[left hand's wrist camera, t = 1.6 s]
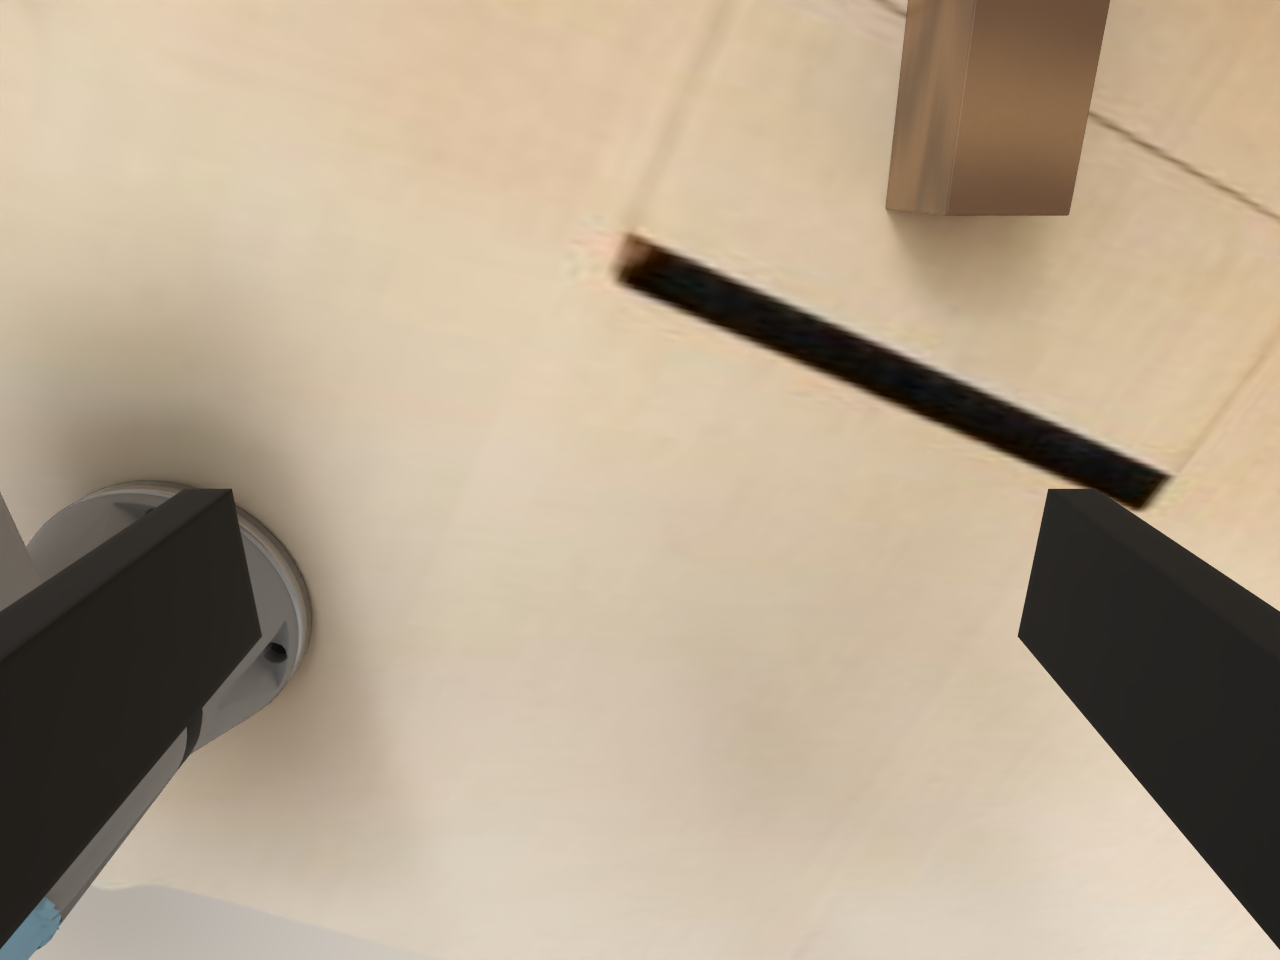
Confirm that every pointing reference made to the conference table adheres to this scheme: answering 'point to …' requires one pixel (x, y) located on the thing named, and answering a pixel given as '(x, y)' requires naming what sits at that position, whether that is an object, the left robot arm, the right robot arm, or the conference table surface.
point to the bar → (993, 105)
